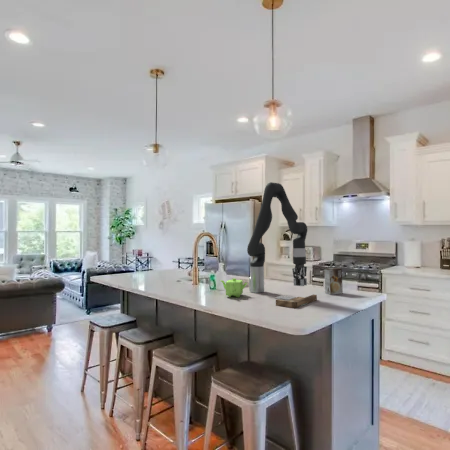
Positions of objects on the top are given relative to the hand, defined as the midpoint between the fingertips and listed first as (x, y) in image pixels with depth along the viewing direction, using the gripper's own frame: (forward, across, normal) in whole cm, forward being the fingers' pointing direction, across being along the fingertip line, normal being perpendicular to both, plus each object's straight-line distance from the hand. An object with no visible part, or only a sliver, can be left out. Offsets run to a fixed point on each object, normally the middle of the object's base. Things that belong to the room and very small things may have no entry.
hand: (300, 284), depth 200 cm
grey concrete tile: (+9, 0, -10) cm, 14 cm away
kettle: (+9, +13, -40) cm, 43 cm away
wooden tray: (+9, +8, +2) cm, 12 cm away
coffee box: (+9, -30, +8) cm, 32 cm away
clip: (0, 0, 0) cm, 0 cm away
